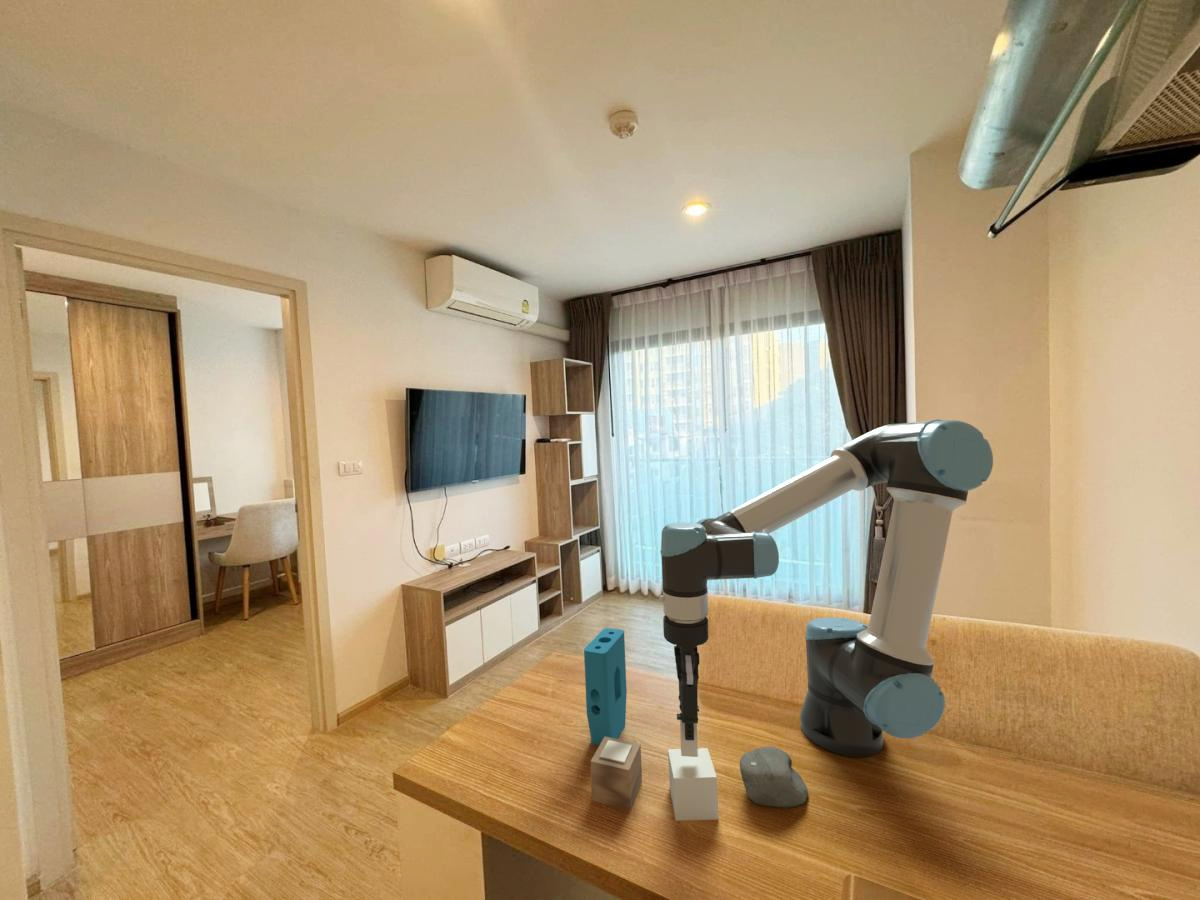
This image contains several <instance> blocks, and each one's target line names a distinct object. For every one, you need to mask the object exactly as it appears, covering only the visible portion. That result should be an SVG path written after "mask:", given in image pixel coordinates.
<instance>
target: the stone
mask: <svg viewBox="0 0 1200 900" xmlns="http://www.w3.org/2000/svg"><path fill="white" fill-rule="evenodd" d="M792 765H793V761H792V758H791V756H790V755H789V754H788V753H787V752H786V751H785V750H782V749H780V748H778V747H777V746H771V745H770V746H764V747H759V748H754V749H752V750H750V751H746V752H745V753H743V754H742V755H741V757H740V761H739V771H740V775H741V779H742V782H743V785H744V789H745V791H746V795H747V796H748V797H749V799H750V800H751V801H752V802H753V803H755V804H757V805H760V806H766V807H774V808H793V807H799V806H801V805H803V804H806V803H807V802H806V800H807V798H809V796H810V794H809V791H808V787H807V785H806V782H804V780H803V778H802V777H801V775H800V773H798V772H797V771H796V770H795V769H794V768H793V767H792Z"/></svg>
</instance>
